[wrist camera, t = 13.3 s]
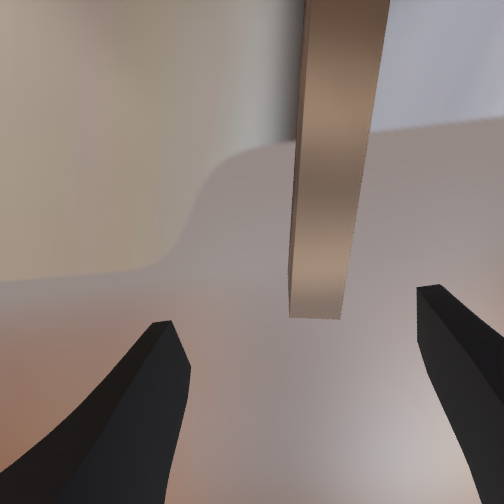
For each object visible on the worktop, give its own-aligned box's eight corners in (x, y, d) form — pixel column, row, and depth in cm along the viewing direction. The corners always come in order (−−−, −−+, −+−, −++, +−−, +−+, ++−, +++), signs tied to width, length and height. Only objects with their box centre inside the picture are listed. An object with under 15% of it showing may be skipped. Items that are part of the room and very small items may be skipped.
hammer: (353, 273, 23) (365, 320, 20) (266, 270, 24) (264, 316, 20) (432, -200, 13) (483, -267, 10) (279, -197, 14) (279, -262, 10)
